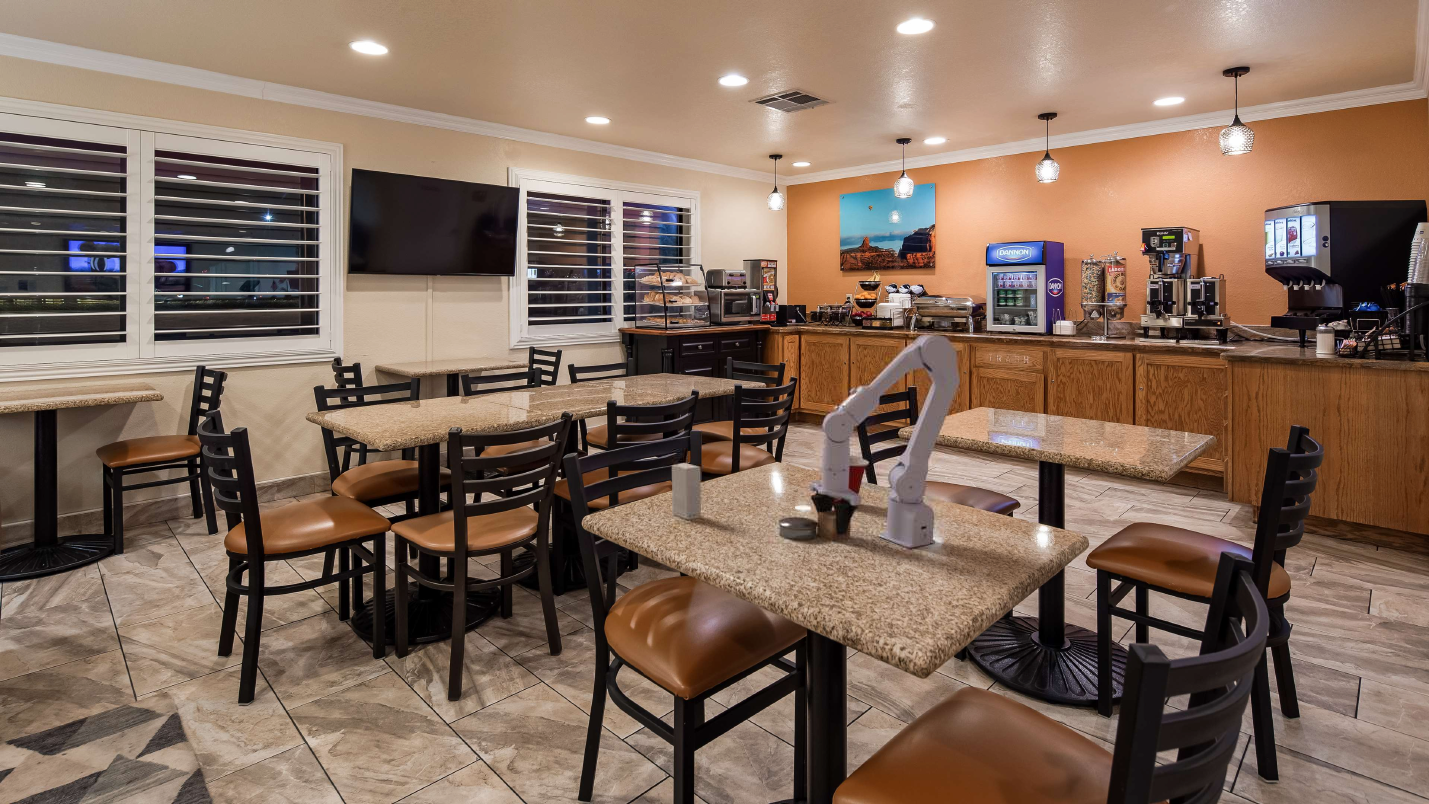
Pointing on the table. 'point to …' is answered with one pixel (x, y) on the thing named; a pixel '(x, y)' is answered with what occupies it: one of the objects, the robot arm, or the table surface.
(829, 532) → the walnut block
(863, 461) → the plastic cup
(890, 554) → the table surface
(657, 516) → the table surface
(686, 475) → the skincare box
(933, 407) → the robot arm
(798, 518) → the grey metal cylinder
